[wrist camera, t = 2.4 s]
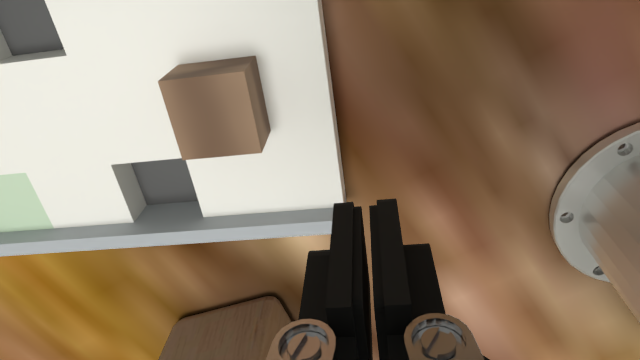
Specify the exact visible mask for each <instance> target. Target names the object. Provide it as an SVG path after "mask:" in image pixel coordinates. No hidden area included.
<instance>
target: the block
mask: <svg viewBox="0 0 640 360" xmlns="http://www.w3.org/2000/svg"><path fill="white" fill-rule="evenodd" d="M291 322H292V321H291V320H290V318H289V316H288V315H287V313H286V311H285V310H284V308H283V306H282V304H281V303H280V301H279V300H278V299H277V298H275V297H272V296H266V297H262V298H258V299H254V300H251V301H247V302H243V303H239V304H235V305H231V306H228V307H224V308H220V309H216V310H212V311H208V312H205V313H201V314H197V315H193V316H189V317H186V318H183V319H181V320H180V321H178V322H177V323H176V324H175V325H174V326H173V328H172V331H171V333H170V335H169V337H168V340H167V342H166V344H165V346H164V348H163V351H162V353H161V355H160V357H159V359H158V360H266V357H267V355H268V352H269V349H270V346H271V344H272V341H273V339H274V338H275V336H276V334H277V333H278V332H279V331H280V330H281V329H282V328H283V327H284V326H286V325H288V324H289V323H291Z"/></svg>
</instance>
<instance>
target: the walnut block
mask: <svg viewBox="0 0 640 360" xmlns="http://www.w3.org/2000/svg"><path fill="white" fill-rule="evenodd" d="M158 84H159V87H160V90H161V93H162V97H163V100H164V103H165V106H166V109H167V112H168V116H169V119H170V122H171V125H172V128H173V132H174V135H175V138H176V141H177V144H178V147H179V151H180V154H181V157H182V160H192V159H202V158H213V157H224V156H235V155H246V154H257V153H262V151H263V149H264V146H265V144H266V142H267V139H268V137H269V134H270V132H271V129H270V124H269V119H268V114H267V109H266V104H265V99H264V94H263V89H262V84H261V79H260V74H259V69H258V64H257V59H256V56H248V57H240V58H231V59H223V60H215V61H206V62H198V63H190V64H181V65H177V66H176V67H175V68H173V69H172V70H171V71H170V72H169V73H167V74H166V75H165V76H164V77H162V78H161V79H160V80H159V81H158Z"/></svg>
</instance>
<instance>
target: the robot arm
mask: <svg viewBox="0 0 640 360" xmlns="http://www.w3.org/2000/svg"><path fill="white" fill-rule="evenodd" d="M369 208H370V230H371V253H372V275H373V296H374V311H375V321H376V331H377V340H378V350H379V359H380V360H489V359H488V358H486V357H485V356H483V355H482V353H481V351H480V349H479V347H478V345H477V343H476V341H475V338H474V336H473V334H472V332H471V331H470V330H469V328H468V327H467V325H465V324H464V323H463V322H462V321H460V320H459V319H457V318H455V317H453V316H450V315H446V314H445V310H444V306H443V301H442V297H441V292H440V288H439V283H438V279H437V275H436V270H435V266H434V261H433V257H432V252H431V248H430V245H429V244H413V245H403V242H402V235H401V228H400V221H399V214H398V207H397V200H396V199H385V200H377V205H374V206H369ZM549 224H550V231H551V234H552V237H553V240H554V242H555V244H556V246H557V247H558V249H559V251H560V253H561V254H562V256H563V257H564V258H565V259H566V260H567V261H568V263H569V264H570V265H571V266H573V267H574V268H576V269H577V270H578V271H580V272H581V273H583V274H585V275H587V276H589V277H591V278H594V279H597V280H601V281H605V282H609V283H611V284H612V285H613V286H614V288H615V289H616V291H617V292H618V294H619V295H620V297H621V298H622V299H623V301H624V302H625V304H626V305H627V307H628V308H629V309H630V311H631V312H632V314H633V315H634V317H635V318H636V319H637V321H638V322H639V324H640V122H639V123H637V124H634V125H632V126H629V127H627V128H624V129H622V130H619V131H617V132H615V133H614V134H612V135H610V136H608V137H607V138H605V139H603V140H601V141H600V142H598V143H597V144H596V145H594V146H593V147H592V148H591V149H589V150H588V151H587V152H585V153H584V154H583V155H582V156H581V157H580V158H579V159H578V160H577V161H576V162H575V163H574V164H573V165H572V166H571V167H570V168H569V170H568V171H567V172H566V174H565V175H564V177H563V178H562V180H561V181H560V183H559V184H558V187H557V189H556V191H555V194H554V196H553V198H552V202H551V207H550V212H549ZM266 360H373V357H372V330H371V303H370V283H369V273H368V264H367V255H366V246H365V236H364V227H363V218H362V209H361V207H354V203H353V202H346V203H334V206H333V218H332V230H331V243H330V250H319V251H309V253H308V259H307V266H306V272H305V279H304V286H303V293H302V300H301V307H300V314H299V320H297V321H294V322H291V323H289V324H288V325H286V326H284V327H283V328H282V329H281V330H280V331H279V332H278V333H277V334H276V336H275V338H274V339H273V341H272V344H271V346H270V349H269V352H268V355H267V357H266Z"/></svg>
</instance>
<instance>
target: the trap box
mask: <svg viewBox="0 0 640 360" xmlns="http://www.w3.org/2000/svg"><path fill="white" fill-rule="evenodd" d="M248 56H256V59H257V64H258V69H259V74H260V79H261V84H262V89H263V94H264V99H265V104H266V109H267V114H268V119H269V124H270V129H271V132H270V134H269V137H268V139H267V142H266V144H265V146H264V149H263V151H262V153H257V154H246V155H235V156H224V157H213V158H202V159H192V160H182V157H181V154H180V151H179V147H178V144H177V141H176V138H175V135H174V132H173V128H172V125H171V122H170V119H169V116H168V112H167V109H166V106H165V103H164V100H163V97H162V93H161V90H160V87H159V84H158V81H159V80H160V79H161V78H162V77H164V76H165V75H166V74H167V73H169V72H170V71H171V70H172V69H173V68H175V67H176V66H177V65H181V64H190V63H198V62H206V61H215V60H223V59H231V58H240V57H248ZM334 203H346V193H345V185H344V177H343V169H342V161H341V153H340V145H339V137H338V129H337V121H336V113H335V105H334V97H333V89H332V81H331V73H330V65H329V57H328V49H327V41H326V33H325V25H324V17H323V9H322V1H321V0H0V256H13V255H28V254H42V253H57V252H72V251H87V250H102V249H117V248H132V247H146V246H161V245H176V244H191V243H206V242H221V241H236V240H250V239H265V238H280V237H295V236H310V235H325V234H331V230H332V218H333V206H334Z"/></svg>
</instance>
